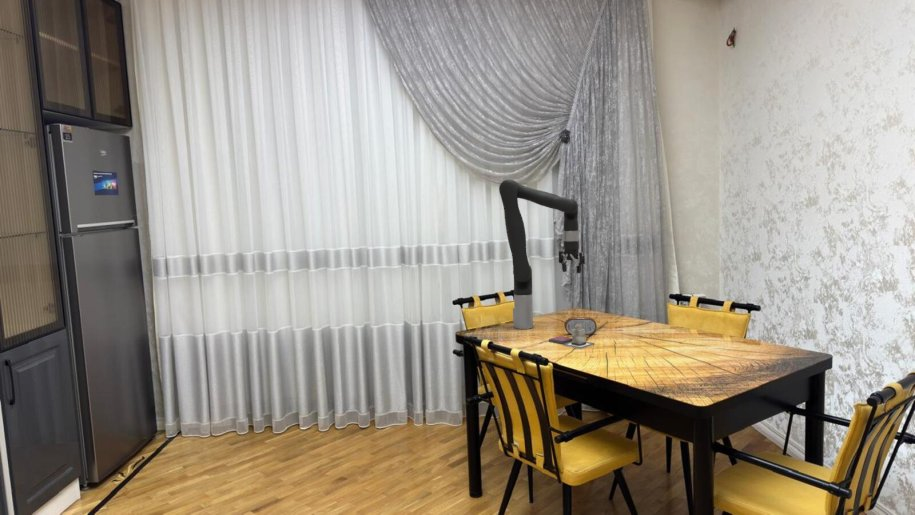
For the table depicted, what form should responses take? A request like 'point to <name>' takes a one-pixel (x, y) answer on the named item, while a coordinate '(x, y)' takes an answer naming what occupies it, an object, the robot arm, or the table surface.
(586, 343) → the marked box
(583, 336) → the stamp
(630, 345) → the table surface
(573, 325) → the tin
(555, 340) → the ink pad
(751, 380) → the table surface
